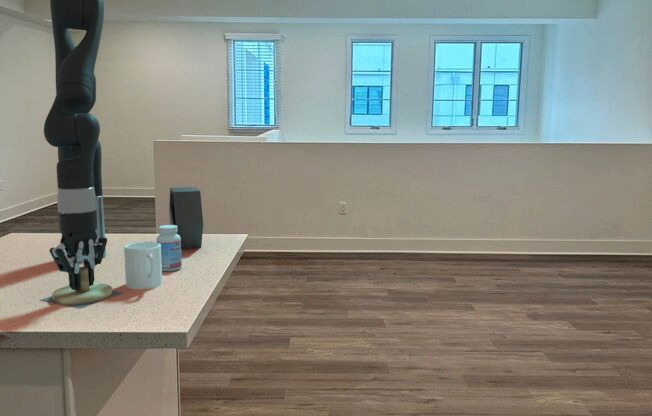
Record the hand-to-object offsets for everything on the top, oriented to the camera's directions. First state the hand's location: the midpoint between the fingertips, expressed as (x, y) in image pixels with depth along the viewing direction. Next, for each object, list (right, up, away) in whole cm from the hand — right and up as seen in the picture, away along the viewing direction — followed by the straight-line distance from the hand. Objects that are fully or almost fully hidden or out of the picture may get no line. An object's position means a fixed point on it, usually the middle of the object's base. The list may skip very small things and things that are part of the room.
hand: (82, 287), depth 126 cm
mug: (+12, -2, +8) cm, 14 cm away
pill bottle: (+12, +1, +25) cm, 28 cm away
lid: (0, -2, 0) cm, 2 cm away
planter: (+10, +5, +53) cm, 54 cm away
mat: (0, -3, 0) cm, 3 cm away
